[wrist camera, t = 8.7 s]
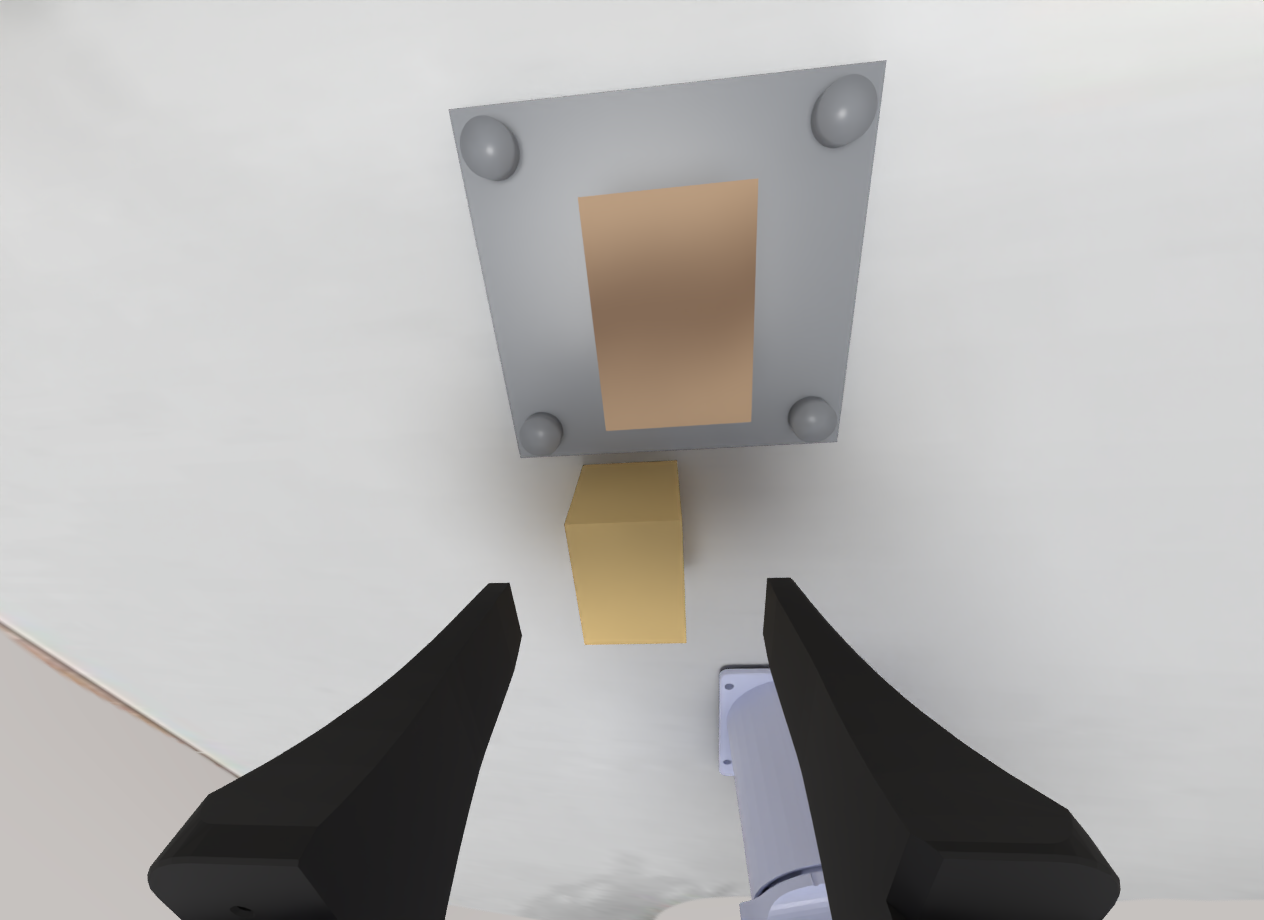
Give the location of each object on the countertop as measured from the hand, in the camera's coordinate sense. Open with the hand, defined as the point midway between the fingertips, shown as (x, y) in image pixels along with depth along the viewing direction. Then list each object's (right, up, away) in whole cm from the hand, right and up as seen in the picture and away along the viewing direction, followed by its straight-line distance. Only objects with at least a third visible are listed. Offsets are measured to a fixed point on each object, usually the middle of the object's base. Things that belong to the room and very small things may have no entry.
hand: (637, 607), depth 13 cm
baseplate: (+1, +10, +4) cm, 11 cm away
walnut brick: (+1, +10, +3) cm, 11 cm away
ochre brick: (0, +1, +9) cm, 9 cm away
